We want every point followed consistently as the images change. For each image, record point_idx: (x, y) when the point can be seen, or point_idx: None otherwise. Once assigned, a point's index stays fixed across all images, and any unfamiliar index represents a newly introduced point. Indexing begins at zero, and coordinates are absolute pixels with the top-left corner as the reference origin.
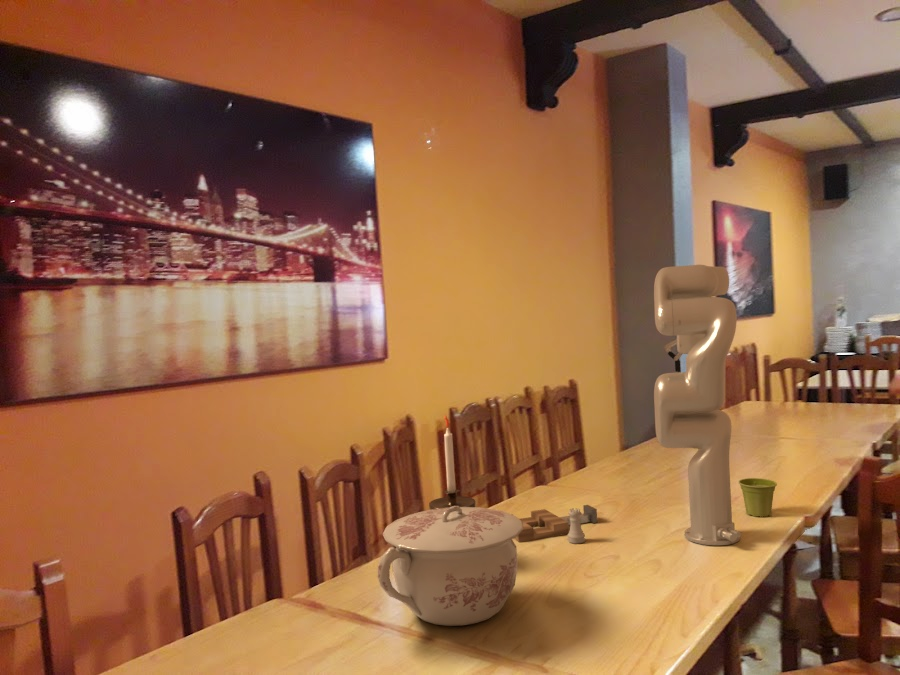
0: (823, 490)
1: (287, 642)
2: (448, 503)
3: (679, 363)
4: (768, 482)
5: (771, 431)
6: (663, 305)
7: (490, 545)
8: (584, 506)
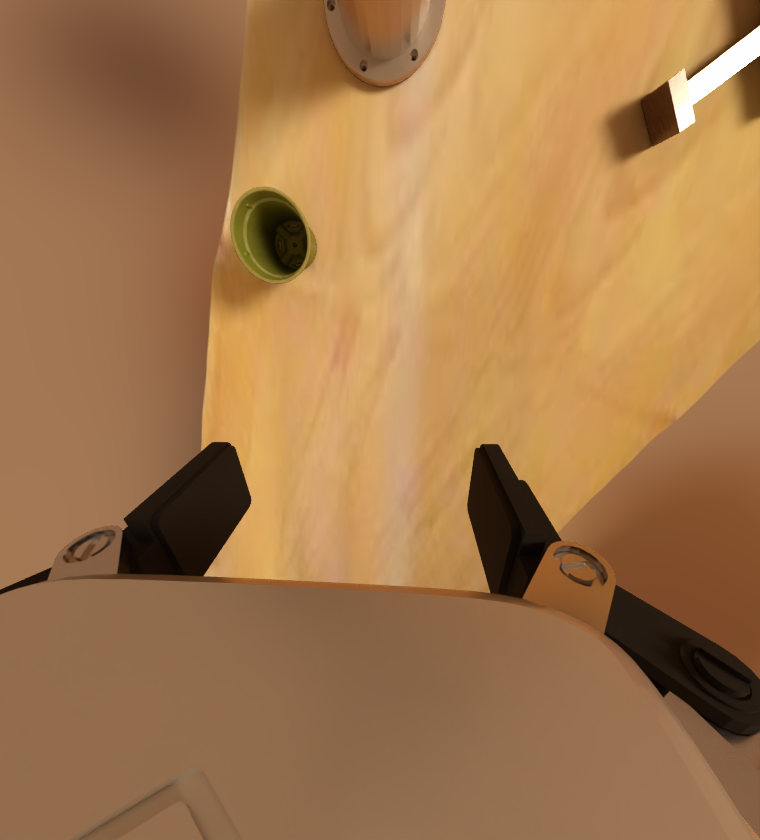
0: (212, 412)
1: None
2: None
3: (513, 507)
4: (253, 267)
5: None
6: None
7: None
8: (692, 114)
